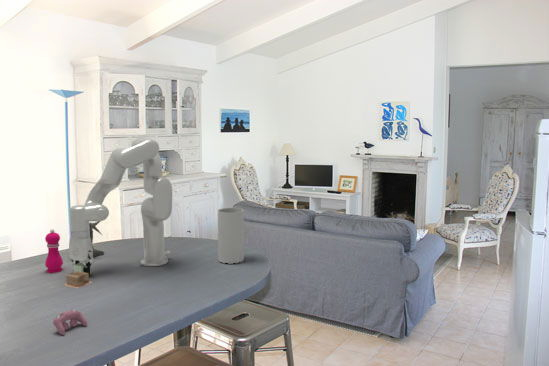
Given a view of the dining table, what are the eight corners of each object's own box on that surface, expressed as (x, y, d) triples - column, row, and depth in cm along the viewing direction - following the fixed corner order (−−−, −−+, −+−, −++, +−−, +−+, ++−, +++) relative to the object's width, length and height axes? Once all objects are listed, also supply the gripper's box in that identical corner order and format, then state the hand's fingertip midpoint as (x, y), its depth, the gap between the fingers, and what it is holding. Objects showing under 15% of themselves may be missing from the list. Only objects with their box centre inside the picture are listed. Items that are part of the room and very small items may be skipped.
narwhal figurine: (67, 256, 249) (65, 221, 247) (97, 251, 259) (95, 217, 257) (78, 263, 239) (76, 226, 236) (109, 257, 249) (107, 221, 246)
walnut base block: (78, 280, 212) (78, 271, 211) (88, 282, 209) (88, 273, 209) (67, 284, 207) (66, 275, 206) (77, 286, 204) (76, 277, 203)
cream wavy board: (84, 273, 224) (84, 271, 224) (108, 279, 217) (108, 276, 217) (51, 285, 209) (51, 282, 209) (77, 291, 202) (76, 288, 202)
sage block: (83, 272, 222) (82, 261, 221) (91, 274, 220) (90, 263, 219) (73, 276, 217) (73, 264, 217) (82, 277, 215) (81, 266, 214)
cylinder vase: (248, 261, 243) (248, 211, 240) (225, 265, 236) (225, 213, 233) (235, 255, 253) (235, 206, 250) (213, 259, 247) (213, 209, 243)
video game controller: (82, 327, 172) (75, 308, 173) (89, 324, 170) (82, 305, 170) (55, 338, 164) (49, 317, 165) (62, 335, 162) (56, 314, 162)
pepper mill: (56, 275, 221) (54, 231, 218) (42, 274, 222) (39, 230, 219) (66, 270, 228) (64, 227, 225) (52, 269, 229) (50, 227, 226)
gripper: (59, 233, 217) (61, 274, 219) (87, 238, 209) (89, 280, 211) (73, 230, 223) (75, 269, 226) (101, 234, 215) (103, 275, 218)
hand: (82, 274), depth 218 cm, fingers closed on sage block, 5 cm apart
